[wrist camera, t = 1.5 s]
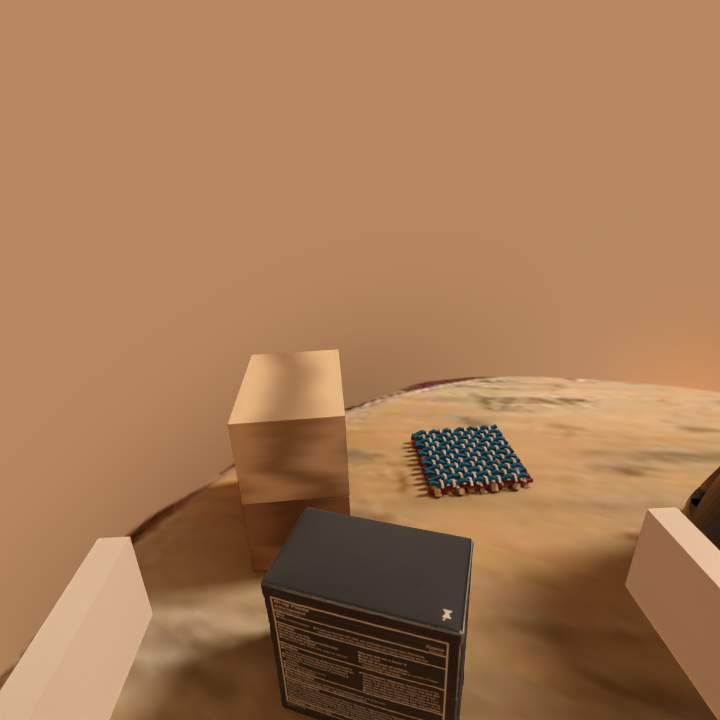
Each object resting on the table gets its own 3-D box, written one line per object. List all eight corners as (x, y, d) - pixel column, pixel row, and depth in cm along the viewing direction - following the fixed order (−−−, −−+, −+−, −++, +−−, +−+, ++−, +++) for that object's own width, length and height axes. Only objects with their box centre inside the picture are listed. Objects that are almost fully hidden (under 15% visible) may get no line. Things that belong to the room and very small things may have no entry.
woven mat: (536, 494, 44) (539, 477, 43) (429, 503, 43) (430, 487, 42) (497, 435, 53) (498, 420, 53) (409, 442, 53) (409, 427, 52)
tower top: (342, 414, 45) (338, 349, 42) (349, 495, 34) (344, 415, 31) (261, 419, 44) (251, 355, 41) (242, 504, 33) (227, 424, 30)
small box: (466, 652, 30) (478, 532, 25) (456, 769, 24) (468, 641, 20) (318, 612, 33) (306, 499, 28) (277, 709, 27) (255, 586, 23)
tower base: (345, 471, 47) (342, 414, 45) (352, 564, 37) (348, 496, 34) (269, 477, 47) (261, 420, 44) (253, 573, 36) (241, 505, 33)
